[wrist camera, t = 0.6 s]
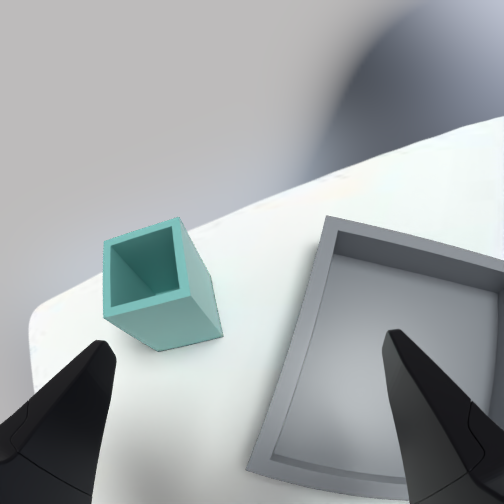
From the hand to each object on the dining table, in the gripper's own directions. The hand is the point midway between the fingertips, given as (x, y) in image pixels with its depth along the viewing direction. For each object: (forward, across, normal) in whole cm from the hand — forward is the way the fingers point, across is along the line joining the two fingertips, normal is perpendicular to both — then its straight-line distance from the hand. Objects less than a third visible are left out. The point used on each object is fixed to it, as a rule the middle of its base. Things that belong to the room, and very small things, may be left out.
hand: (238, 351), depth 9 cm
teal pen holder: (+13, +8, +11) cm, 19 cm away
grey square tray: (+7, -11, +14) cm, 19 cm away
